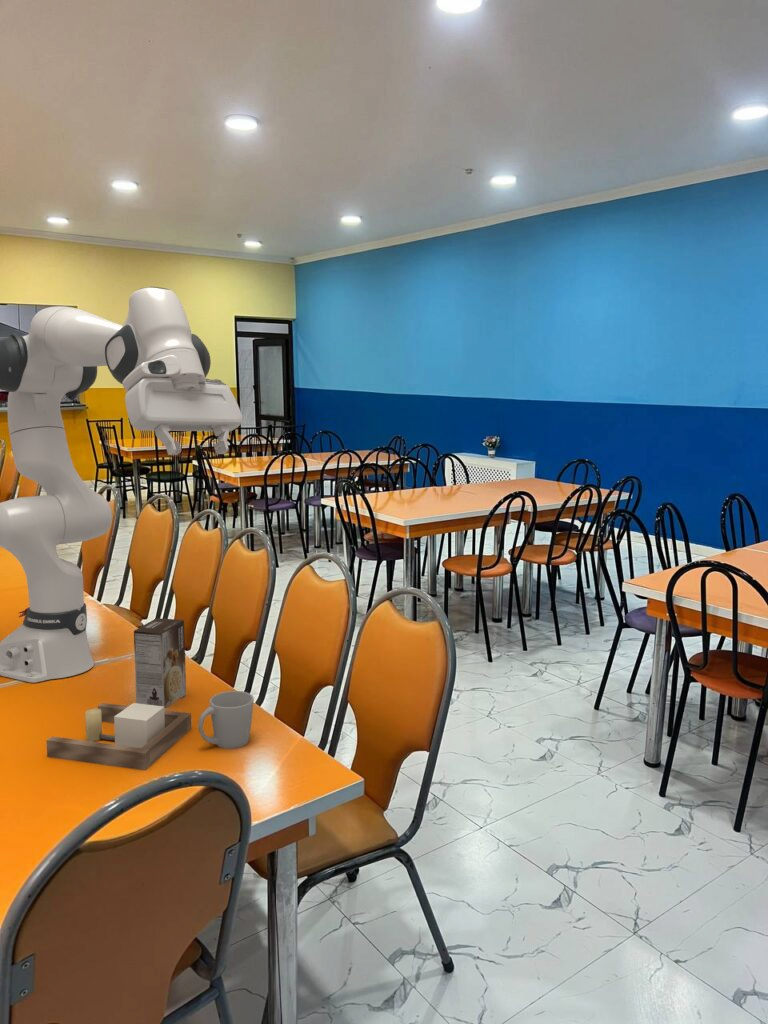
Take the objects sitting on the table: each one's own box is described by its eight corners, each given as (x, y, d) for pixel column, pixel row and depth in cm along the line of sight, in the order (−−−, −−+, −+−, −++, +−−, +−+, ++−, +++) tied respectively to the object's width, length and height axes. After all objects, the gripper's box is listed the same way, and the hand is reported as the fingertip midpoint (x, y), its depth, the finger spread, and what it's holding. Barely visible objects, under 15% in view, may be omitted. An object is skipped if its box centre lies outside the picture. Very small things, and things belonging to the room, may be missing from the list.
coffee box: (158, 691, 154) (156, 616, 151) (187, 694, 152) (185, 619, 150) (135, 709, 145) (132, 630, 142) (165, 712, 144) (163, 632, 141)
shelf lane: (47, 760, 124) (46, 740, 123) (103, 721, 139) (102, 702, 139) (145, 774, 120) (144, 753, 119) (191, 732, 135) (191, 713, 135)
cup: (262, 746, 130) (262, 700, 129) (210, 763, 124) (209, 715, 123) (240, 731, 136) (240, 687, 135) (189, 747, 130) (188, 700, 128)
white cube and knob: (77, 744, 128) (75, 712, 127) (97, 730, 134) (96, 698, 133) (147, 754, 125) (146, 720, 124) (165, 738, 131) (164, 706, 130)
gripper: (216, 388, 133) (238, 459, 131) (112, 381, 117) (135, 462, 115) (237, 372, 129) (259, 445, 127) (132, 363, 114) (156, 446, 111)
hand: (199, 453), depth 121 cm, fingers open, 8 cm apart
